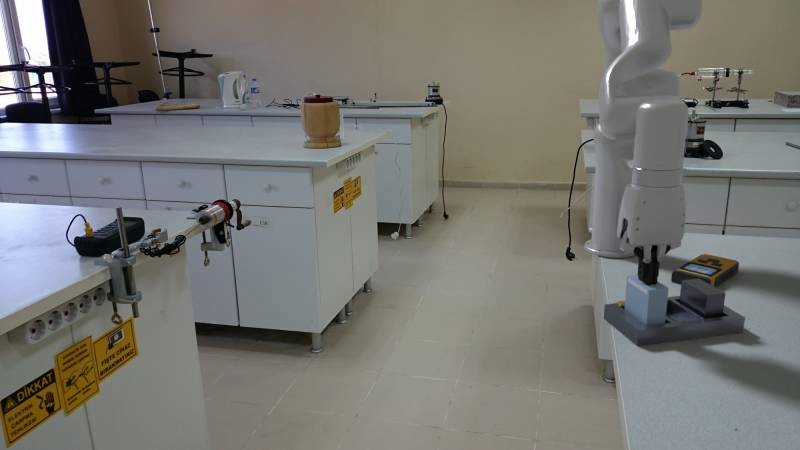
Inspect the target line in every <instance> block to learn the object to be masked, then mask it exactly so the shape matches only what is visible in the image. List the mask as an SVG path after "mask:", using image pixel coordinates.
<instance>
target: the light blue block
mask: <svg viewBox="0 0 800 450" xmlns="http://www.w3.org/2000/svg"><path fill="white" fill-rule="evenodd" d="M668 297H669V287H667V286H666V285H665V284H663V283H661V282H659V281H658V280H657V284H654V285H653V284H651V285H647V284H645V283H643V282H642V281H640V280H639V279H638V273H637V274H629V275H628V274H627V275H626V286H625V298H624V301H625V309H624V310H625V311H627V312H628V313H629V314H631V315H632V316H633V317H635V318H636V319H637V320H639V321H640V322H641V323H643V324H644V325H645V326H652V325H660V324H665V319H666V309H667V299H668Z"/></svg>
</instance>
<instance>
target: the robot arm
mask: <svg viewBox="0 0 800 450" xmlns="http://www.w3.org/2000/svg"><path fill="white" fill-rule="evenodd" d="M596 8H597V9H596V11H597V12H596V13H597V14H596V15H597V22H598V26H599V30H600V32H601V36H602V39H603V42H604V43H603V44H604V49H605V51H604V52H605V55H604V56H605V60H604V74H603V75H602V78H601V79H600V84H599V87H598V89H599V90H598V119H599V123H598V124H597V125H596V127H595V128H594V131H593V146H594V147H593V148H594V149H593V150H594V157H595V158H594V159H595V160H594V162H595V177H594V192H593V195H594V196H593V208H592V209H593V213H592V227H589V229H588V232H589V233H591V239H588V240H587V241H585V243H584V250H586V251H587V252H588V253H590V254H592V255H595V256H599V257H604V258H612V259H613V258H614V259H615V258H618V259H619V258H621V259H622V258H630V257H634V256H635V258H636V259H637V260H638V264H637V274H638V279H639V280H640V281H642V282H643V283H645V284H647V285H651V284H653V285H654V284H657V281H658V278H659V275H660V274H659V273H660V264H661V263H662V262H663V261H664V260H665V259H664V258H665V256H666V254H668V253H669V252H670V251H671V250H676V249H677V248H680V247H681V245H682V240H683V239H684V236H685V232H686V231H685V230H686V216H687V215H686V213H687V212H686V211H687V209H686V208H687V206H686V205H687V204H686V193H685V191H686V190H685V186H684V185H683V184H682V182H683V181H682V179H683V177H687V175H688V174H689V173H688V169H687V168H684V160H685V159H684V157H685V149H686V148H685V147H686V138H687V128H688V127H687V126H688V125H689V124H688V123H689V113H690V112H689V107H688V105H687V104H686V103H685V101H684V100H683V99H682V98H681V96H680V93H681V91H680V90H681V86H680V79H679V76H678V75H677V73H676V72H675V71H674V70H672V69H669V68H661V67H662V66H664V65H665V64H666V63H667V62H668V61H669V59H670V57H671V55H672V51H673V49H672V48H673V47H672V39H671V38H672V37H671V31H681V30H682V31H683V30H691V29H693V28H694V27H696V26H697V24H698V23H699V22H700V19H701V16H702V13H703V0H598V1H597V7H596ZM630 161H633V162H632V168H631V166H630V165H629V163H628V162H630Z"/></svg>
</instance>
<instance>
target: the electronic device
mask: <svg viewBox="0 0 800 450" xmlns="http://www.w3.org/2000/svg"><path fill="white" fill-rule="evenodd" d="M739 267H740V263H739V261H737V260H736V259H731V258H727V257H721V256H717V255H713V254H708V253H703V254H701V255H698V256H697V257H695V258H693V259H691V260H689V261H688V262H686V263H685V264H682V265H681V266H679V267H678V268H676V269H675V270H673V271H672V272H671V277H670V279H671V280H670V281H671V283H674V284H677V285H680V286H681V282H682V280H690V279H701V280H703V281H704V282H706V283H708V284H710V285H712V286H714V287H715V288H717V287H718V286H720V285H722V284H723V283H724V282H725V281H727V280H729V279H730V278H732V277H734V275H736V274H738V271H739Z"/></svg>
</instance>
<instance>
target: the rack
mask: <svg viewBox="0 0 800 450" xmlns="http://www.w3.org/2000/svg"><path fill="white" fill-rule="evenodd" d="M725 299H726V292H724V291H723V290H722V289H719V288H717V287H714V286H712V285H710V284H708V283H706V282H704V281H703V280H701V279H690V280H682V282H681V285H680V293H679V295H676V296H675V295H674V296H668V299H667V309H666V319H665V324H660V325H652V326H645V325H644V324H643V323H641V322H640V321H639V320H637V319H636V318H635V317H633V316H632V315H631V314H629V313H628V312H627V311H625V310H624V309H625V300H620V301H619V300H617V302H616V303H614V302H613V303H606V304H604V309H603V310H604V312H603V319H604V320H605V321H606V323H609V324H610V326H612V327H614V328H615V329H616V330H617V331H618V332H619V333H621V334H622V335H624V337H626V339H628V340H629V341H631V342H632V343H633V344H634V345H635V346H637V347H639V346H648V345H656V344H663V343H670V342H671V343H672V342H679V341H685V340H686V341H687V340H692V339H693V340H694V339H695V340H696V339H701V338H702V339H703V338H709V337H716V336H723V335H724V336H725V335H730V334H731V335H733V334H740V333H744V328H745V321H746V317H745V316H743V315H742V314H740V313H739V312H737V311H735V310H733V309H731V308H729V307H727V306H726V305H725Z"/></svg>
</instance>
